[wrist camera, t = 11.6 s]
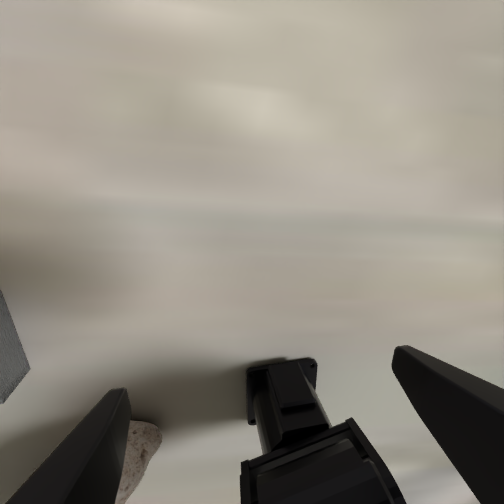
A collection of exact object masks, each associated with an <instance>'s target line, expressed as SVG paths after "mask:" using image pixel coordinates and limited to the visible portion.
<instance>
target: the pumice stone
mask: <svg viewBox="0 0 504 504" xmlns="http://www.w3.org/2000/svg"><path fill="white" fill-rule="evenodd" d="M161 442H162V435H161V433H160V432H159V430H158V428H157V426H156V425H154V424H151V423H148V422H144V421H132V420H130V425H129V432H128V438H127V445H126V452H125V458H124V465H123V471H122V476H121V480H120V485H119V489H118V493H117V497H116V501H115V504H125V502H126V501H127V499H128V498H129V496H130V495H131V494H132V493H133V491H134V490H135V489H136V487H137V486H138V484H139V483H140V481H141V479H142V478H143V476H144V472H145V470H146V468H147V466H148V463H149V461H150V459H151V458H152V456H153V455H154V454H155V453H156V451H157V450H158V448H159V447H160V445H161Z"/></svg>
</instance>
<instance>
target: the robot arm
mask: <svg viewBox="0 0 504 504" xmlns="http://www.w3.org/2000/svg"><path fill="white" fill-rule="evenodd" d="M311 364H312V365H311ZM392 370H393V373H394V374H395V376H396V378H397V379H398V381H399V383H400V385H401V386H402V388H403V390H404V391H405V393H406V395H407V397H408V398H409V400H410V402H411V403H412V405H413V407H414V409H415V410H416V412H417V413H418V415H419V416H420V418H421V419H422V421H423V422H424V424H425V425H426V427H427V428H428V429H429V431H430V432H431V434H432V435H433V437H434V438H435V439H436V441H437V442H438V444H439V445H440V447H441V448H442V449H443V451H444V452H445V454H446V455H447V457H448V458H449V459H450V461H451V462H452V464H453V465H454V466H455V468H456V469H457V471H458V472H459V474H460V475H461V476H462V478H463V479H464V481H465V482H466V484H467V485H468V486H469V488H470V489H471V491H472V492H473V493H474V495H475V496H476V498H477V499H478V501H479V502H480V503H481V504H504V389H502V388H500V387H498V386H496V385H494V384H491V383H489V382H487V381H485V380H483V379H481V378H478V377H476V376H474V375H472V374H470V373H467V372H465V371H463V370H461V369H459V368H457V367H454V366H452V365H450V364H448V363H446V362H443V361H441V360H439V359H437V358H435V357H433V356H430V355H428V354H426V353H424V352H422V351H419V350H417V349H415V348H413V347H411V346H408V345H404V346H398V347H396V348H395V350H394V355H393V360H392ZM251 373H253V374H251ZM316 377H317V362H316V361H315V359H305V360H298V361H292V362H285V363H278V364H271V365H265V366H258V367H251V368H249V369H247V371H246V398H247V420H248V424H249V425H257V429H258V434H259V438H260V443H261V448H262V452H263V455H262V456H259V457H257V458H254V459H252V460H245V461H243V462H241V475H240V495H241V504H406V502H405V499H404V497H403V495H402V493H401V491H400V489H399V487H398V485H397V483H396V482H395V480H394V478H393V476H392V474H391V473H390V471H389V469H388V468H387V466H386V465H385V463H384V461H383V460H382V459H381V457H380V456H379V454H378V453H377V452H376V450H375V449H374V447H373V446H372V444H371V443H370V442H369V440H368V439H367V437H366V436H365V435H364V433H363V432H362V430H361V429H360V428H359V426H358V425H357V423H356V422H355V421H354V419H353V418H349V419H347V420H345V421H346V422H343V423H341V424H338V425H336V426H333V427H332V425H331V423H330V421H329V419H328V417H327V415H326V413H325V411H324V409H323V406H322V404H321V402H320V400H319V398H318V396H317V394H316V392H315V389H316ZM130 418H131V405H130V401H129V397H128V392H127V389H126V388H124V387H122V388H116V389H111V390H110V391H109V392H108V393H107V394H106V395H105V396H104V397H103V398H102V399H101V400H100V401H99V403H98V404H97V405H96V406H95V407H94V408H93V409H92V410H91V411H90V412H89V413H88V415H87V416H86V417H85V418H84V419H83V420H82V421H81V422H80V423H79V424H78V425H77V426H76V428H75V429H74V430H73V431H72V432H71V433H70V434H69V435H68V436H67V437H66V438H65V439H64V441H63V442H62V443H61V444H60V445H59V446H58V447H57V448H56V449H55V450H54V451H53V452H52V454H51V455H50V456H49V457H48V458H47V459H46V460H45V461H44V462H43V463H42V464H41V466H40V467H39V468H38V469H37V470H36V471H35V472H34V473H33V474H32V475H31V476H30V477H29V479H28V480H27V481H26V482H25V483H24V484H23V485H22V486H21V487H20V488H19V489H18V490H17V492H16V493H15V494H14V495H13V496H12V497H11V498H10V499H9V500H8V501H7V502H6V504H115V501H116V497H117V493H118V489H119V485H120V480H121V476H122V471H123V465H124V458H125V452H126V445H127V438H128V432H129V425H130Z"/></svg>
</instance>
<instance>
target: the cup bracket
mask: <svg viewBox="0 0 504 504" xmlns="http://www.w3.org/2000/svg"><path fill="white" fill-rule="evenodd" d="M29 370H30V367H29V364H28V361H27V359H26V356H25V353H24V351H23V348H22V345H21V343H20V340H19V337H18V335H17V332H16V329H15V327H14V324H13V321H12V319H11V316H10V313H9V311H8V308H7V305H6V303H5V300H4V297H3V295H2V292H1V290H0V404H3V403H4V402H5V401H6V400H7V398H8V397H9V396H10V395H11V393H12V392H13V391H14V389H15V388H16V387H17V386H18V384H19V383H20V382H21V381H22V379H23V378H24V377H25V375H26V374H27V373H28V372H29Z"/></svg>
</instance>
